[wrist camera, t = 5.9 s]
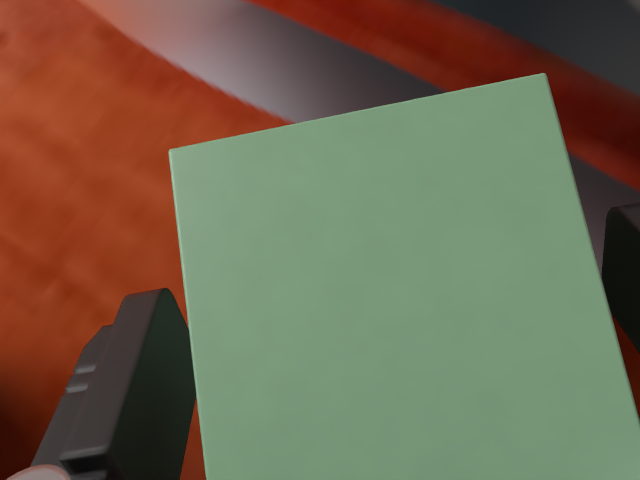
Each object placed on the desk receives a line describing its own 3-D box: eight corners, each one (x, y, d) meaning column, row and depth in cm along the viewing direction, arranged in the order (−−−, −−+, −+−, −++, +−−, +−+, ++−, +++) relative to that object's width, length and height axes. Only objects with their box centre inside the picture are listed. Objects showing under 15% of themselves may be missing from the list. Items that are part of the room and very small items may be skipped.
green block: (308, 444, 14) (213, 553, 7) (279, 251, 15) (166, 148, 8) (509, 412, 14) (660, 489, 6) (465, 216, 15) (546, 69, 7)
